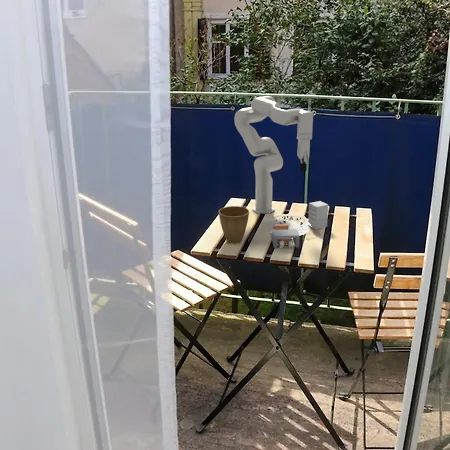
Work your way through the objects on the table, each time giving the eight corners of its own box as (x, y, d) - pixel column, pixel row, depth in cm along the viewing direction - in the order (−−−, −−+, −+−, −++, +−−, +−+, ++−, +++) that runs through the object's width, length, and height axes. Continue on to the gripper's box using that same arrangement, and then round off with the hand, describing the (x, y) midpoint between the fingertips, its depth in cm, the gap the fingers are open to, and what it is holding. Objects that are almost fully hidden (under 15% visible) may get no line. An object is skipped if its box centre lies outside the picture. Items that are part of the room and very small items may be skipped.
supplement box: (319, 222, 302) (320, 200, 298) (327, 227, 296) (328, 204, 291) (307, 225, 299) (308, 202, 295) (315, 229, 293) (317, 206, 288)
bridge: (270, 234, 287) (270, 222, 285) (293, 233, 288) (294, 222, 285) (273, 247, 271) (274, 235, 268) (299, 247, 271) (299, 235, 269)
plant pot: (221, 235, 287) (221, 205, 281) (250, 236, 284) (251, 206, 278) (216, 246, 273) (215, 215, 267) (246, 248, 270) (246, 216, 265)
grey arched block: (273, 236, 285) (274, 224, 283) (287, 236, 286) (287, 224, 283) (277, 245, 274) (278, 233, 272) (291, 245, 274) (292, 232, 272)
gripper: (295, 132, 292) (293, 167, 298) (299, 138, 278) (298, 174, 284) (309, 132, 292) (307, 167, 299) (314, 138, 278) (312, 174, 285)
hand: (303, 170), depth 291 cm, fingers closed
